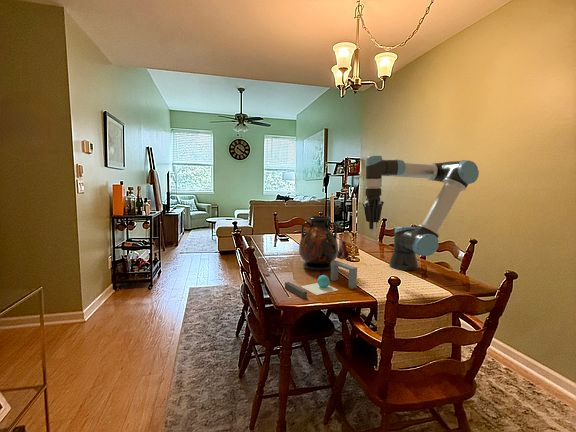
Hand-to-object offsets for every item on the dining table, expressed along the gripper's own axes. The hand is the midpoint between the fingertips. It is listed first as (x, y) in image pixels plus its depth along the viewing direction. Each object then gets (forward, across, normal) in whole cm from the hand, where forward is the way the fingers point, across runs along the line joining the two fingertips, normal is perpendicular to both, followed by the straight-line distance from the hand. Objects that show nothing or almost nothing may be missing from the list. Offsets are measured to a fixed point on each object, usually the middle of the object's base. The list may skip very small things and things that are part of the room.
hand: (372, 235), depth 155 cm
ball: (+17, +32, 0) cm, 36 cm away
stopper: (+19, +47, -1) cm, 51 cm away
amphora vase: (+20, +14, -26) cm, 36 cm away
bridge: (+20, +21, +1) cm, 29 cm away
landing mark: (+20, +35, 0) cm, 40 cm away
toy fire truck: (+21, -15, -38) cm, 46 cm away
